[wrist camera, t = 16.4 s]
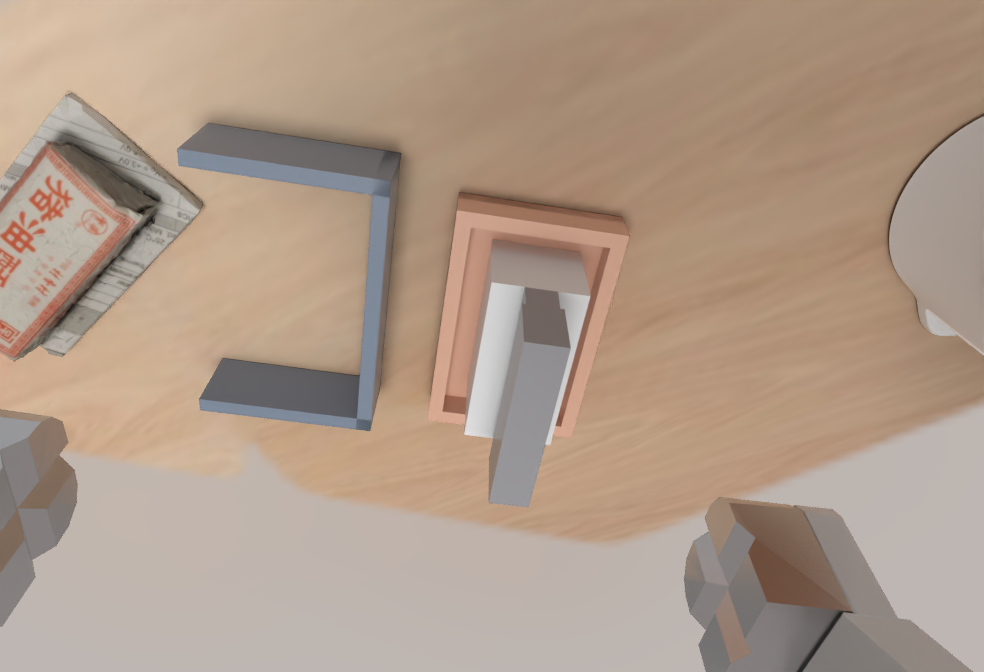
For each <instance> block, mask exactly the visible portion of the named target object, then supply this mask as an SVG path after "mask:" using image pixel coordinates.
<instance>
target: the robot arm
mask: <svg viewBox="0 0 984 672" xmlns="http://www.w3.org/2000/svg"><path fill="white" fill-rule="evenodd" d="M889 249H890V255H891V260H892V263H893V266H894V268H895V270H896V272H897V274H898V276H899V277H900V278H901V280H902V281H903V282H904V283H905V285H906V286H907V287H908V288H909V289H910V290H911V291H912V293H913V294H914V295H915V297H916V299H917V307H918V314H919V318H920V322H921V324H922V326H923V327H924V328H926V329H927V330H928V331H930V332H931V333H932V334H934V335H937V336H959V337H961V338H962V339H963V340H964V341H966V342H967V343H968V344H969V345H971V346H972V347H973V348H975V349H976V350H977V351H978V352H980V353H981V354H982V355H983V356H984V116H983V117H981V118H979V119H977V120H975V121H974V122H972V123H970V124H968V125H967V126H965V127H964V128H962V129H961V130H959V131H958V132H956V133H955V134H954V135H952V136H951V137H950V138H948V139H947V140H946V141H945V142H944V143H942V144H941V145H940V146H939V147H938V148H937V149H936V150H935V151H934V152H933V153H932V154H931V155H930V156H929V157H928V158H927V159H926V160H925V161H924V162H923V163H922V165H921V166H920V167H919V168H918V170H917V171H916V172H915V173H914V175H913V176H912V178H911V179H910V181H909V182H908V184H907V185H906V187H905V189H904V191H903V192H902V194H901V196H900V198H899V201H898V203H897V205H896V208H895V211H894V214H893V217H892V221H891V226H890V232H889ZM67 444H68V439H67V436H66V432H65V429H64V425H63V422H62V421H60V420H58V419H56V418H53V417H49V416H42V415H35V414H29V413H22V412H15V411H8V410H1V409H0V626H1V627H2V626H3V624H4V623H5V622H6V620H7V619H8V617H9V616H10V614H11V612H12V611H13V610H14V608H15V607H16V605H17V604H18V602H19V601H20V599H21V598H22V596H23V595H24V593H25V592H26V590H27V589H28V587H29V586H30V584H31V583H32V581H33V580H34V578H35V572H34V567H33V562H32V560H33V559H35V558H36V557H38V556H40V555H41V554H43V553H45V552H46V551H48V550H50V549H52V548H53V547H55V546H56V545H57V544H58V542H59V541H60V539H61V537H62V536H63V534H64V533H65V531H66V530H67V528H68V526H69V524H70V521H71V518H72V514H73V512H74V509H75V506H76V503H77V485H78V484H77V480H76V475H75V470H74V469H73V468H72V467H71V466H70V465H69V464H68V463H67V462H66V461H65V460H64V459H63V458H62V457H60V456H59V454H60V453H61V452H62V450H63V449H64V448H65V446H66V445H67ZM705 520H706V523H707V526H708V530H709V532H707V533H706V534H704V535H702V536H701V537H699V538H698V539H696V540H695V541H694V542H693V544H692V546H691V549H690V551H689V554H688V556H687V559H686V567H685V576H684V583H685V593H686V598H687V603H688V607H689V611H690V614H691V615H692V616H693V617H694V618H695V619H696V620H697V621H698V622H699V623H700V624H701V625H702V626H703V627H704V629H706V631H705V633H704V635H703V637H702V639H701V641H700V643H699V648H700V652H701V655H702V659H703V663H704V666H705V670H706V672H973V671H971V670H970V669H969V668H968V667H967V666H965V665H964V664H963V663H962V662H961V661H959V660H958V659H957V658H956V657H954V656H953V655H952V654H951V653H949V652H948V651H947V650H946V649H944V648H943V647H942V646H941V645H940V644H938V643H937V642H936V641H935V640H934V639H933V638H931V637H930V636H929V635H928V634H926V633H925V632H924V631H923V630H922V629H920V628H919V627H918V626H917V625H916V624H914V623H913V622H912V621H911V620H906V619H898V618H897V616H896V614H895V612H894V610H893V608H892V607H891V605H890V603H889V601H888V599H887V598H886V596H885V594H884V592H883V590H882V589H881V587H880V585H879V583H878V581H877V580H876V578H875V576H874V574H873V572H872V571H871V569H870V567H869V565H868V563H867V562H866V560H865V558H864V556H863V554H862V553H861V551H860V549H859V547H858V546H857V544H856V542H855V540H854V538H853V536H852V535H851V533H850V531H849V529H848V528H847V526H846V524H845V522H844V520H843V518H842V517H841V516H840V515H839V514H838V513H836V512H835V511H834V510H833V509H825V508H816V507H807V506H798V505H794V506H791V505H786V504H777V503H768V502H759V501H750V500H741V499H732V498H723V497H719V498H717V499H716V500H715V501H714V502H713V503H712V504H711V505H710V508H709V510H708V512H707V514H706V516H705Z"/></svg>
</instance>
